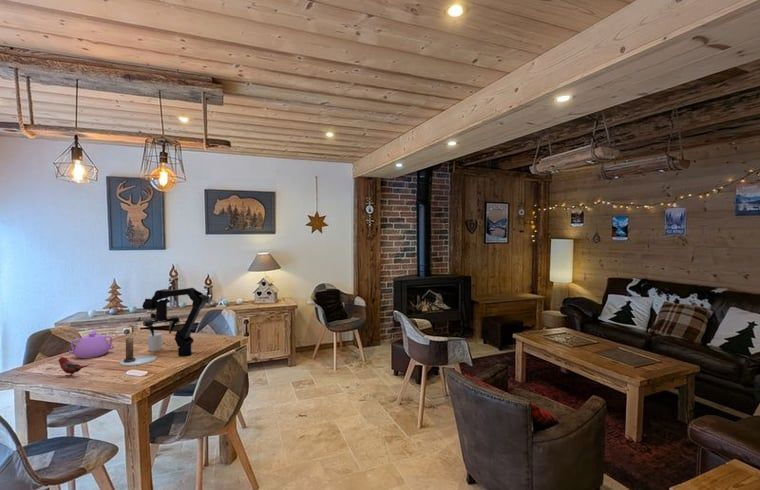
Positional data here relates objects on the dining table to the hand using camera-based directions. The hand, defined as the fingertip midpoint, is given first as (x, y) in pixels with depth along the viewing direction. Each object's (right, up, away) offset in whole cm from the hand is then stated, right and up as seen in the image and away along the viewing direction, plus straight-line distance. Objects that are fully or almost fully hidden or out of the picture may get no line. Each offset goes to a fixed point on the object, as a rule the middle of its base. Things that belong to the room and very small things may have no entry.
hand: (161, 335), depth 227 cm
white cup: (-10, -12, +9) cm, 18 cm away
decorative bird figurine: (-23, -13, -38) cm, 46 cm away
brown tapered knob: (-9, -11, -16) cm, 21 cm away
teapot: (-42, -12, -1) cm, 44 cm away
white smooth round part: (-6, -12, -13) cm, 19 cm away
